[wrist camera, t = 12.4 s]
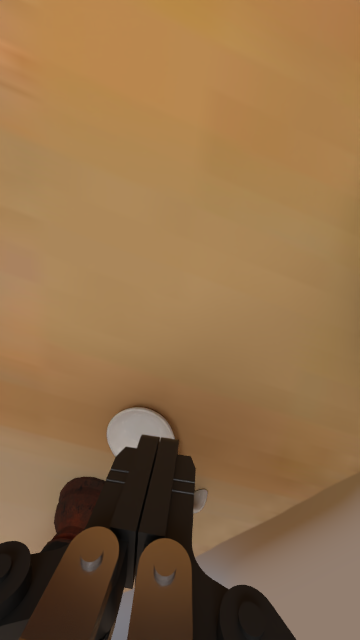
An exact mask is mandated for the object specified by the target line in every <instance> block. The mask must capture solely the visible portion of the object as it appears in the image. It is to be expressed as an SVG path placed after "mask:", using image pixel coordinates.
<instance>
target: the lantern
mask: <svg viewBox="0 0 360 640" xmlns="http://www.w3.org/2000/svg"><path fill="white" fill-rule="evenodd" d="M104 483H105V481H104V480H101V479H97V478H94V477H80V478H75V479H73V480H71V481H70V482H68V483H67V484H66V485H65V486H64V488H63V489H62V491H61V492H60V497H59V503H58V505H57V508H56V513H55V520H54V524H55V529H56V532H57V534H56V535H55V536H54V538H53V539H52V540H51V541H50V542H48V543H47V544H46V546H45V547H44V548H43V550H42V551H41V552H46V551H51V550H55V549H59V548H62V547H64V546H66V545H68V544H69V543H71V541H72V540H73V539H74V538H75V537H76V536H77V535H78V534H79V533H81V532H82V531H83V530H84V529H85V527H86V525H87V523H88V521H89V519H90V516H91V514H92V512H93V509H94V507H95V505H96V502H97V500H98V498H99V495H100V493H101V490H102V488H103V486H104ZM41 552H40V553H41Z"/></svg>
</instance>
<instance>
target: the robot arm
mask: <svg viewBox="0 0 360 640" xmlns="http://www.w3.org/2000/svg"><path fill="white" fill-rule="evenodd" d="M178 445H179V440H177V439H170V438H164V437H161V439H160V437H156V436H150V435H143V434H142V435H141V437H140V440H139V443H138V446H137V448H132V447H125V448H124V449H123V450H122V451H121V452H120V453H119V454H118V455H117V456H116V458H115V460H114V462H113V465H112V467H111V471H110V472H109V474H108V476H107V479H106V481H105V483H104V486H103V488H102V490H101V493H100V495H99V498H98V500H97V502H96V505H95V507H94V509H93V512H92V514H91V516H90V519H89V521H88V523H87V525H86V527H85V529H84V530H83V531H82V532H81V533H79V534H78V535H77V536H76V537H75V538H74V539H73V540H72V541H71V543H69V544H68V545H66V546H64V547H62V548H59V549H55V550H51V551H46V552H41V553H36V554H31V555H30V551H29V549H28V547H27V546H26V545H25V544H23V543H21V542H18V541H9V542H4V543H1V544H0V640H111V637H112V634H113V631H114V627H115V623H116V618H117V614H118V610H119V606H120V602H121V598H122V594H123V590H124V587H125V588H130V589H132V588H133V583H134V579H135V590H134V597H133V604H132V610H131V617H130V623H129V630H128V637H127V640H296V639H295V637H294V636H293V634H292V633H291V632H290V630H289V629H288V628H287V626H286V624H285V623H284V622H283V620H282V619H281V617H280V616H279V615H278V613H277V612H276V610H275V609H274V607H273V606H272V605H271V603H270V602H269V601H268V599H267V598H266V597H265V596H264V595H263V594H262V593H261V592H259V591H258V590H257V589H255V588H253V587H251V586H247V585H237V586H234V587H232V588H231V589H227V588H225V587H224V586H222V585H221V584H219V583H218V582H216V581H214V580H212V579H211V578H210V577H209V576H207V575H206V574H205V573H204V572H203V571H202V569H201V568H200V567H199V565H198V563H197V562H196V560H195V557H194V554H193V550H192V526H193V507H194V488H195V469H196V468H195V466H194V463H193V461H192V459H191V456H184V455H178ZM135 574H136V575H135Z"/></svg>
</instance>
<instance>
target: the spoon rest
mask: <svg viewBox="0 0 360 640" xmlns="http://www.w3.org/2000/svg"><path fill="white" fill-rule="evenodd" d="M142 434H143V435H150V436H156V437H160V439H161V437H164V438H170V439H175V437H174V434H173V431H172V429H171V427H170V425H169V423H168V422H167V420H166V419H165V418H164V417H163V416H161V415H160V414H159V413H157V412H155V411H153V410H151V409H148V408H143V407H133V408H129V409H125V410H123V411H121V412H119V413H118V414H116V415H115V416H114V417H113V418H112V420H111V421H110V423H109V425H108V428H107V440H108V444H109V446H110V449H111V451H112V453H113V454H114V455H115V457H116V456H117V455H118V454H119V453H120V452H121V451H122V450H123V449H124V448H125V447H132V448H137V446H138V443H139V440H140V437H141V435H142ZM207 494H208V492H207V490H205V489H202V490H198V491H195V492H194V507H193V513H198V512H199V511H201V509H202V508H203V507H204V505H205V503H206V500H207Z"/></svg>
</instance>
